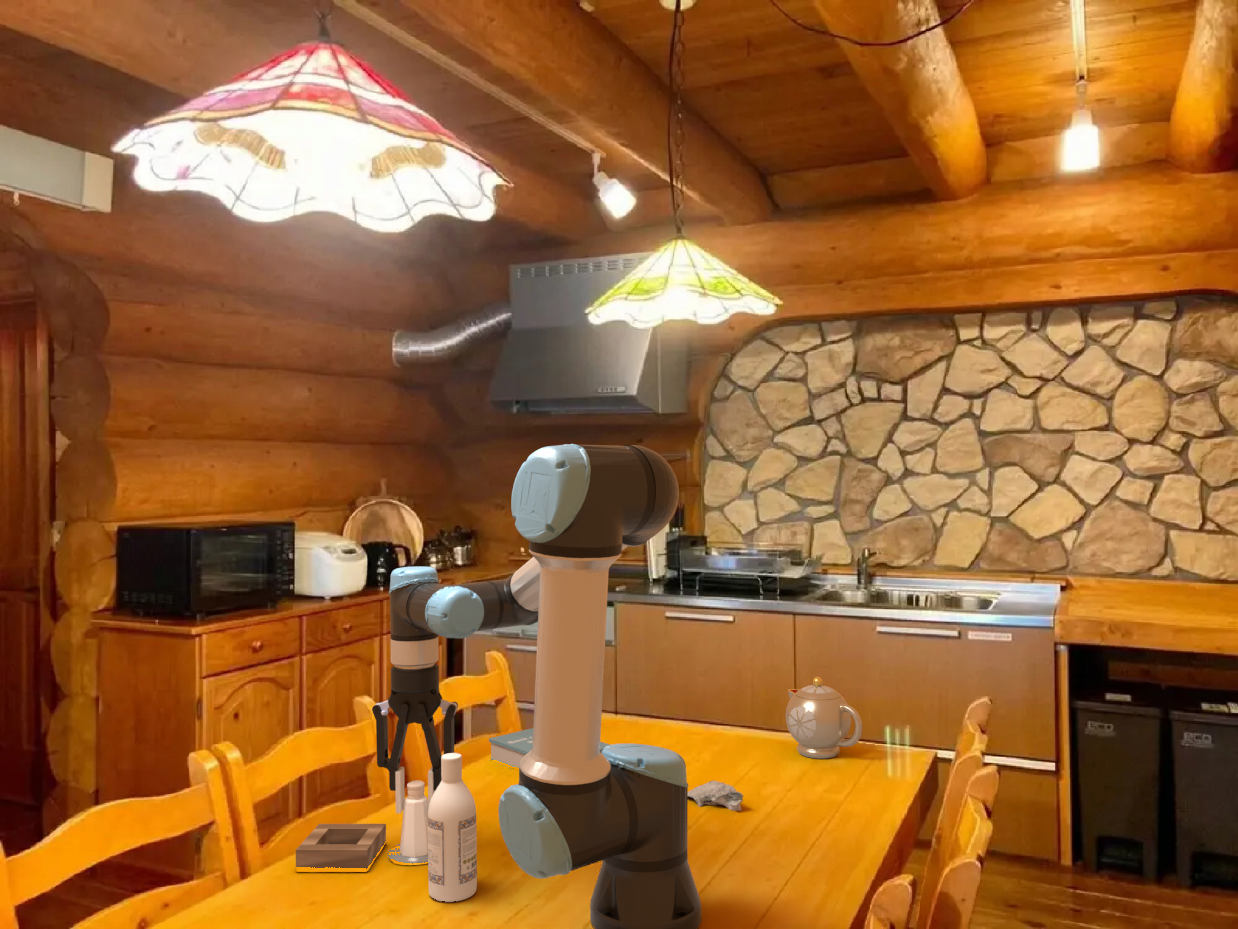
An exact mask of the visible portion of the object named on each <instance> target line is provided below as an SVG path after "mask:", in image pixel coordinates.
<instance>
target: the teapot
mask: <svg viewBox="0 0 1238 929" xmlns="http://www.w3.org/2000/svg"><path fill="white" fill-rule="evenodd" d="M823 682H824V681H823V678H822V677H820V676H814V677H813V680H812V683H813V684H810V685H806V686H804V687H802V688H799V689H796V688H792V689H791V688H789V689H787V694H788V697H789V701H788V702H787V704H786V705H787V706H786V709H785V723H786V727H787V730H788V732H789V733H790V736H791V737H792V738H793V739H794V740H795V741H796V742H797V744H798V745H797V747H796V749H797V752H798V753H799V754H800V755H802V756H803V757H807V758H810V759H818V760H819V759H820V760H823V759H831V758H835V757H837V756H838V755H839V754H840V752H841V750H840V749H841V748H840V747H842V748H850V747H853V746H855V745H856V744H857V743H858V742H859V740H860V738H861V737H862V733H863V721H862V717H861V716H860V714H859V712H858V711H857V709H856V708H854V707H853V706H851V705H849V704H848V702H847V701H846V699H845V698H844V696H842V695H841V693H840V692H838V691H837V690H835V689H834V688H832V687H830V686H827V685H823ZM852 718H853V720H854V726H855V727H854V733H853V734H852V736H851V737H850V738H847V739H846V737H847V735H849V734H848V733H849V731H850V727H851V723H852Z"/></svg>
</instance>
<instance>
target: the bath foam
mask: <svg viewBox="0 0 1238 929" xmlns="http://www.w3.org/2000/svg"><path fill="white" fill-rule="evenodd" d="M441 756H442V757H441V776H442V781H441V783H440V784H439V786H438V787H437V789H436V791H435V792H434V794H433V796H432V798H431V801H430V804H429V809H428V864H427V866H428V867H427V868H428V870H427V871H428V872H427V873H428V876H427V878H428V894H429V896H430V897H431V898H432V899H433V898H434V899H433V900H435V899H436V900H435V901H437V902H438V901H439V902H442V901H445V902H444V903H454V901H456V902H460V901H464V900H467V899H469V898H471V897H472V896H474V894H475V893H476V891H477V889H478V879H477V878H478V864H477V863H478V860H477V859H478V858H477V857H478V854H477V850H478V847H477V846H478V844H477V842H478V841H477V809H476V801H475V798H474V796H473V794H472V793H471V791H470V789H469V788H468V786H467V785H466V784H465V782H464V781H463V779H462V778H463V777H462V776H463V773H462V772H463V765H462V764H463V762H462V761H463V760H462V759H463V757H462V756H463V755H462V754H460V753H458V752H454V753H447V754H444V753H443V754H441Z"/></svg>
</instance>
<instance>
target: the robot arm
mask: <svg viewBox="0 0 1238 929" xmlns="http://www.w3.org/2000/svg"><path fill="white" fill-rule="evenodd" d="M677 478H678V477H677V476H676V473H675V471H674V470H673V468H672V466H671V464H669V462H668V461H667V460H666V459H665V458H664V457H663V456H662V455H660V454H659V453H658V452H656V451H654V450H652V449H650V448H649V447H646V446H641V445H637V444H635V445H634V444H624V445H623V444H622V445H620V444H619V445H616V444H615V445H612V444H611V445H610V444H609V445H604V444H602V445H601V444H574V443H571V444H567V443H565V444H558V445H549V446H544V447H541V448H539V449H537V450H535V451H534V452H532V453H531V454H529V456H528V457H527V459H526V461H524V462H523V463H522V464H521V466H520V468H519V470H518V472H517V474H516V476H515V478H514V479H515V480H514V482H513V485H512V486H513V488H512V491H511V504H510V505H511V506H510V507H511V514H512V518H513V519H514V520H515V521H514V526H515V528H516V530H517V531H518V532H519V535H521V536H522V537H523V539H524V538H525V539H526V540H528V552H529V553H530V555H532V557H531V558H530V559H529V560H528V561H526V562H525V564H522V566H521V567H520V568H519V569H517V570H515V572H514V573H512V574H510V575H509V576H508V577H507V578H504V579H498V580H497V579H495V580H486V581H477V582H468V583H467V582H465V583H457V584H455V583H454V584H442V583H440V581H439V577H438V572H437V569H436V568H434V567H432V566H403V567H398V568H395V569H393V570H392V571H391V574H390V582H389V590H388V595H389V617H390V618H389V619H390V621H389V626H390V663H391V664H392V667H391V668H390V694H389V696H388V699H387V700H385V701H382V702H381V701H379V702H376V704H374V705H373V706H372V708H371V712H372V713H373V717H374V719H375V732H376V733H375V734H376V763H377V764H376V765H377V766H378V767H379V768H384V769H386V770H387V771H388V775H389V776H388V780H389V786H388V787H389V790H390V791H392V792H395V814H401V813H403V809H404V800H405V799H406V798H405V797H406V796H405V767H404V766H400V765H401V759H402V754H403V750H404V745H405V740H406V738H407V737H406V735H407V731H408V727H409V725H410V724H419V725H420V726H421V730H422V731H423V734H424V737H425V742H426V746H427V750H428V754H429V759H430V763H431V767H430V769H429V770H428V772H427V794H428V795H427V798H428V809H429V804H430V801H431V798H432V796H433V794H434V792H435V791H436V789H437V787H438V786H439V784H440V783H441V781H442V776H441V757H442V753H441V748H440V744H439V739H438V737H437V736H438V735H437V732H436V727H435V720H434V715H435V713H436V712H437V710H438V709H439V708H440V709H441V715H443V716H444V718H443V755H444V754H447V753H455V716H456V712H457V711H458V707H459V703H458V702H457V701H452V702H451V701H448V700H446V699H443V696H442V694H441V692H440V676H439V675H440V670H439V669H440V668H439V665H438V664H437V662H438V661H439V659H440V658H439V651H440V650H439V637H444V638H446V639H465V638H468V637H470V636H471V635H473V634H474V633H475V632H481V631H482V632H483V631H489V630H494V629H504V628H511V627H521V626H531V625H535V624H537V634H536V635H537V638H536V639H537V640H536V659H535V660H536V662H535V680H534V681H535V683H534V705H533V707H534V708H533V727H532V728H533V747H532V750H531V751H530V752H529V753H527V754H526V755H525V756H524V757H523V758H522V759H521V761H520V768H519V771H518V772H519V773H518V784H512V785H510V786H509V787H508V788H506V789H505V790H504V792H503V793H502V794H501V796H500V798H499V802H498V820H499V827H500V832H501V836H502V839H503V841H504V843H505V846H506V848H507V850H508V852H509V854H510V856H511V857H512V859H513V861H514V862H515V863H516V864H517V866H518V867H519V868H520V869H521V871H523V872H524V873H526V874H527V875H528V876H530V877H533V878H535V879H548V878H552V877H556V876H559V875H560V876H564V875H568V874H569V873H570V872H572V871H575V870H578V869H581V868H584V867H587V866H590V865H593V864H595V863H599V862H601V866H600V869H599V873H598V876H597V879H596V882H595V886H594V888H593V893H592V895H591V899H590V904H589V906H590V907H589V908H590V911H589V912H590V914H589V916H590V924H591V925H592V927H593V928H594V929H698V927H699V926H700V924H701V922H702V902H701V898H700V895H699V892H698V889H697V886H696V883H695V879H694V877H693V874H692V871H691V867H690V864H689V860H688V859H689V858H688V857H689V856H688V855H689V854H688V801H689V800H688V799H689V798H688V792H689V791H688V788H689V783H688V782H687V780H688V779H687V765H686V762H685V759H684V758H683V757H682V756H681V754H679V753H677V752H675V751H674V750H671V749H668V748H664V747H662V746H661V747H660V746H656V745H649V744H642V743H641V744H640V743H613V744H610V745H609V746H606V747H605V748H604V749H603V750H602V753H601V752H600V742H601V732H602V729H601V728H602V710H603V693H604V673H605V672H604V671H605V670H604V669H605V648H606V630H607V614H608V613H607V611H608V610H607V608H608V595H609V594H608V592H609V590H608V589H609V571H610V567H611V566H612V565H613V564H614V563H615V562H616V561H617V560H618V559H619V558H620V557H622V551H623V550H625V549H626V548H627V547H631V548H634V547H636V548H637V547H639V546H642V545H644V544H645V543H647V542H648V541H649V540H651V539H652V538H654V537H656V536H657V534H659V533H660V532H662V531H663V529H664V528H666V527H667V525H668V524H669V523H670V522H671V520H672V519H673V517H674V515H675V514H676V511H677V508H678V505H679V500H680V499H679V498H680V489H679V481H678V479H677ZM390 709H391V710H392V711H393V713H394V714H395V716H396V717H397V724H396V730H395V735H394V739H393V745H392V749H391V754H390V756H389V729H388V728H389V727H388V726H389V722H388V714H389V712H390Z"/></svg>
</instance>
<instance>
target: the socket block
mask: <svg viewBox="0 0 1238 929" xmlns="http://www.w3.org/2000/svg"><path fill="white" fill-rule="evenodd" d="M385 841H386V842H387V824H386V823H318V824H317V826H316V827H315V828H314V829H313V830H312V831H311V832H310V833H309V834H308V835H307V837H306V838H305V839H304V840H303V841H302V842H301V844H299V846H298V847H297V848H296V849H295V868H296V867H311V868H312V867H313V868H314V867H315V868H325V867H328V868H329V867H330V868H331V867H333V868H334V867H335V868H339V867H340V868H366V869H367V868H368V866H369V865H370V864H371V863H372V861H373V859H374V858H375V857H376V855H377V853H378V852H379V851H380V849H381V847H382V846H383V845H384V843H385Z"/></svg>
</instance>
